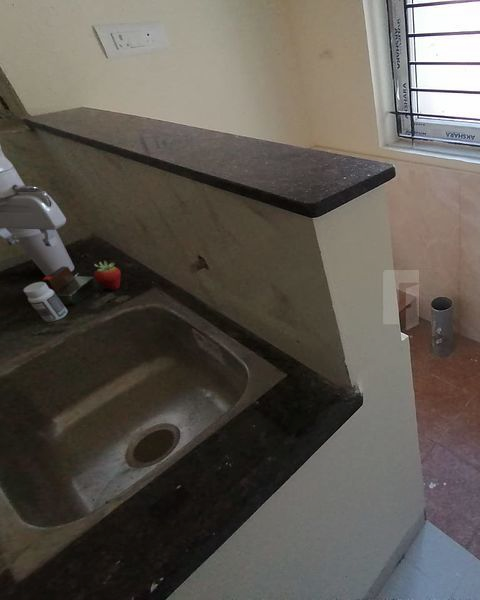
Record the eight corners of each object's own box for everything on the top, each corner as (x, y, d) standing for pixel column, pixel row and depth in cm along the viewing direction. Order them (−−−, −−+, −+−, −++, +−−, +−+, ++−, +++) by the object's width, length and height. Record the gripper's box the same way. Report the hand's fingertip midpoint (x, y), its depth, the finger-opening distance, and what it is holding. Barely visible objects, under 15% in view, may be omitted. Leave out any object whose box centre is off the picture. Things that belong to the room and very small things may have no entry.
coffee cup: (85, 270, 106) (54, 220, 97) (43, 285, 101) (6, 233, 91) (76, 258, 111) (45, 209, 102) (35, 272, 106) (-1, 222, 97)
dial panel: (34, 306, 93) (26, 296, 91) (66, 282, 101) (60, 272, 99) (73, 308, 92) (66, 297, 91) (103, 283, 101) (97, 273, 99)
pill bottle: (66, 307, 93) (45, 278, 88) (70, 316, 90) (49, 286, 85) (42, 316, 90) (19, 286, 85) (45, 325, 88) (22, 295, 82)
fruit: (131, 287, 99) (117, 260, 94) (109, 297, 96) (93, 270, 91) (122, 281, 101) (107, 254, 97) (100, 290, 98) (84, 264, 93)
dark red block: (69, 278, 97) (61, 265, 95) (75, 278, 97) (67, 265, 95) (50, 292, 93) (41, 279, 90) (56, 292, 93) (47, 279, 90)
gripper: (53, 180, 81) (86, 239, 90) (-35, 178, 83) (4, 236, 91) (28, 191, 76) (65, 252, 85) (-66, 189, 78) (-21, 249, 86)
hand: (33, 244), depth 88 cm, fingers open, 8 cm apart
